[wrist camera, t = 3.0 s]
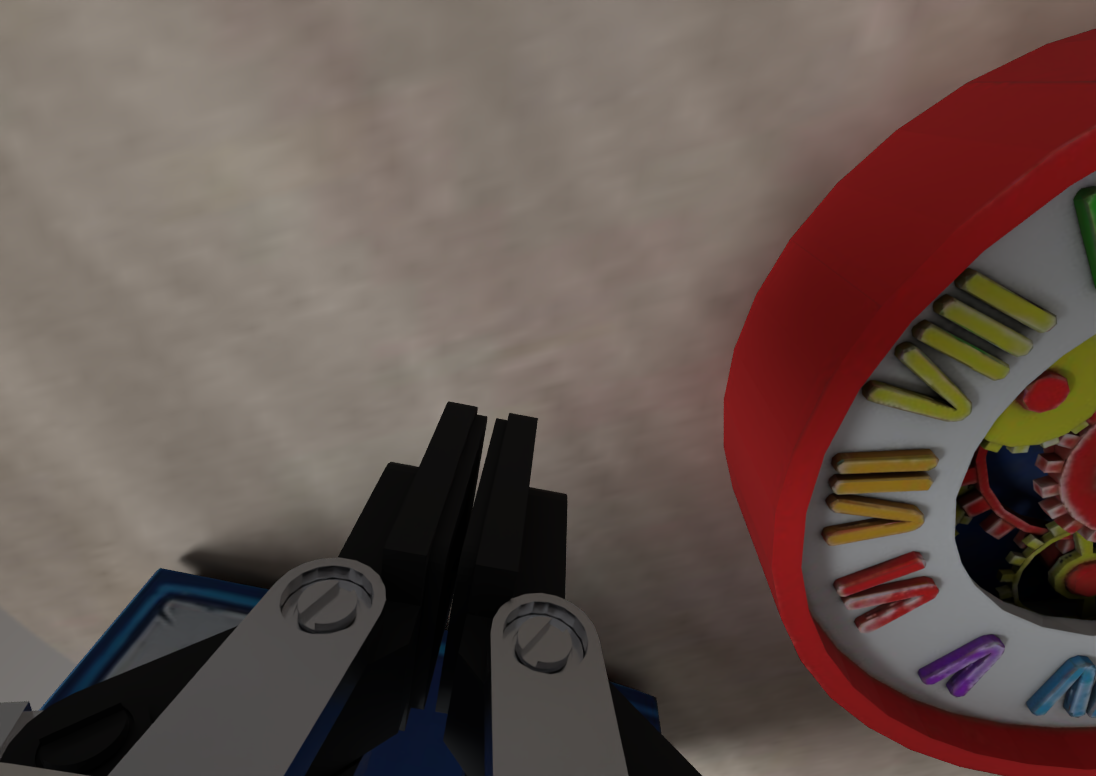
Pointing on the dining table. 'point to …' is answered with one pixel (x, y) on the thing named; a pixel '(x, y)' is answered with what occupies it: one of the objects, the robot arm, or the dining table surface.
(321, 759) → the robot arm
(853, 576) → the toy clock
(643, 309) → the dining table surface
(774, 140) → the dining table surface
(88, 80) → the dining table surface
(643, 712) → the book
